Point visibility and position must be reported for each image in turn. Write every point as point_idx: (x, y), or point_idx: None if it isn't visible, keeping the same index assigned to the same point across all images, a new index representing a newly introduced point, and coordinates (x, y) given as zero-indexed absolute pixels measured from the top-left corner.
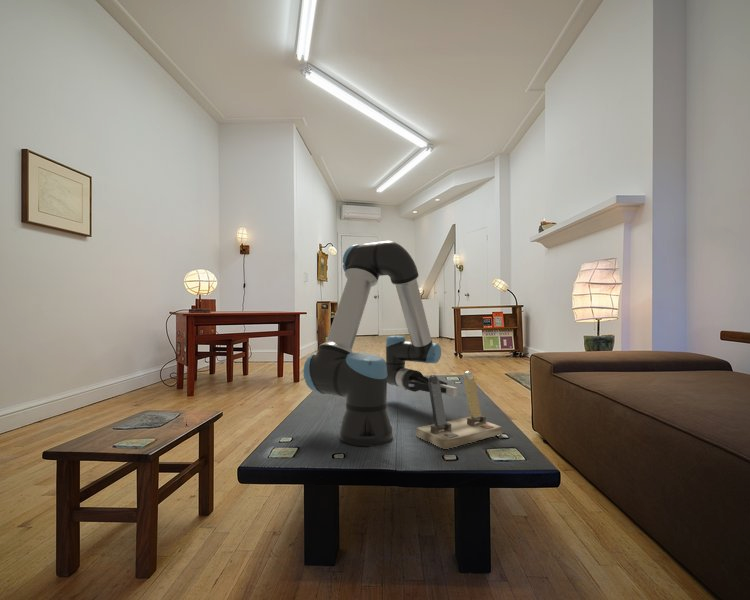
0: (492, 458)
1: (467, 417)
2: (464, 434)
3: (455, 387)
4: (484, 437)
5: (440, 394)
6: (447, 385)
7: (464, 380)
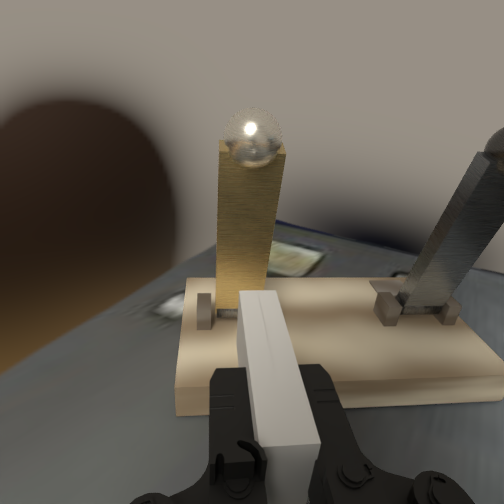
0: (318, 255)
1: (207, 381)
2: (345, 282)
3: (245, 296)
4: None
5: (451, 208)
6: (259, 366)
7: (282, 168)
